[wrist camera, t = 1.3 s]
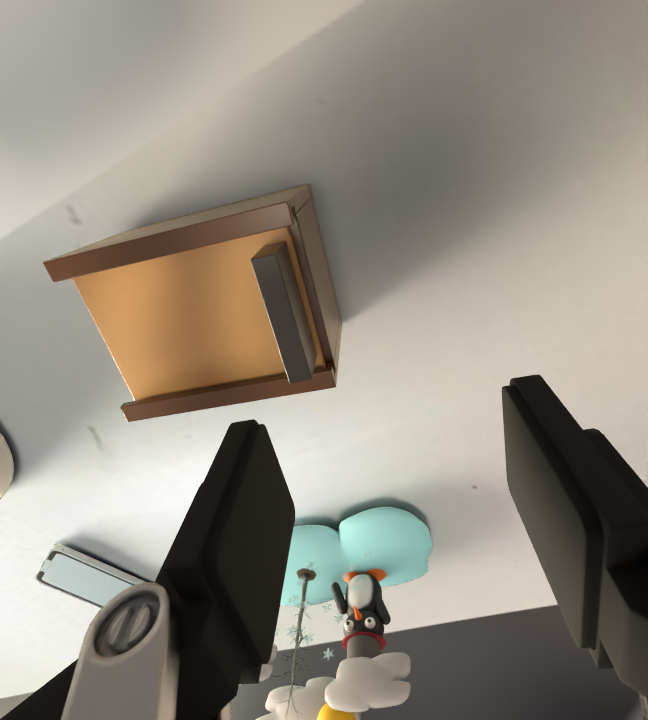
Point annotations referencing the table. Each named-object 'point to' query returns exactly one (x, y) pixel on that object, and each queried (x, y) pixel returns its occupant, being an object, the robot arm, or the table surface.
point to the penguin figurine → (350, 610)
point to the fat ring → (5, 466)
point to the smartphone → (82, 576)
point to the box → (212, 229)
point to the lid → (207, 316)
